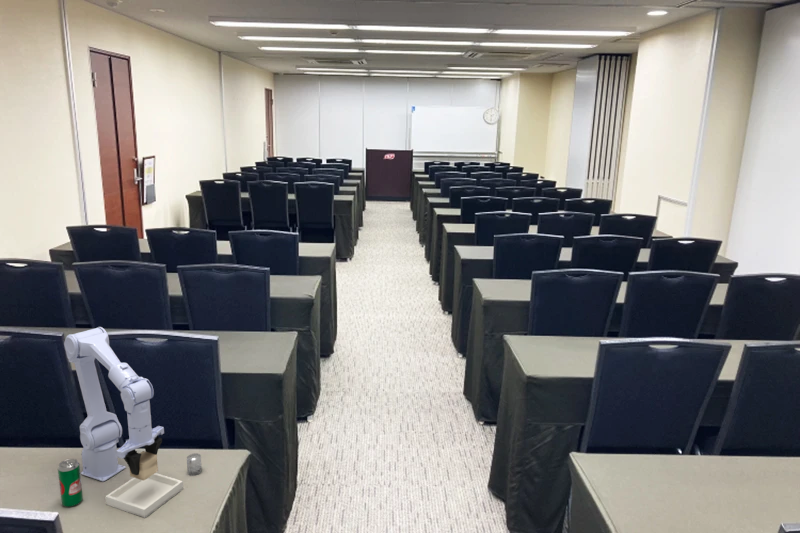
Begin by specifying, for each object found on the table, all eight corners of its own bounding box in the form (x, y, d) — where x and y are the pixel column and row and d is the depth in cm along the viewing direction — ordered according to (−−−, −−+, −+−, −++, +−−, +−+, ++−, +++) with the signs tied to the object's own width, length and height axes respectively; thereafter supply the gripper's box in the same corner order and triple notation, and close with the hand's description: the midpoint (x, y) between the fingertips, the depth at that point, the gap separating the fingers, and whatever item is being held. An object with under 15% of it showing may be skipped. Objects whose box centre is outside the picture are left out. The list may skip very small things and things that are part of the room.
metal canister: (184, 473, 168) (183, 458, 167) (194, 467, 172) (193, 452, 171) (195, 477, 167) (194, 462, 166) (204, 470, 170) (203, 455, 169)
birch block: (130, 476, 154) (128, 459, 153) (144, 466, 158) (143, 450, 157) (143, 480, 152) (142, 464, 151) (158, 471, 157) (156, 454, 156)
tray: (106, 504, 153) (105, 496, 153) (146, 477, 166) (145, 469, 165) (145, 518, 148) (144, 509, 148) (183, 488, 161) (182, 481, 160)
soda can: (73, 509, 151) (69, 469, 148) (57, 506, 152) (52, 467, 149) (87, 498, 156) (83, 459, 153) (71, 495, 156) (67, 456, 154)
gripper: (129, 439, 144) (133, 486, 147) (171, 415, 157) (174, 458, 160) (108, 433, 147) (113, 479, 150) (151, 410, 160) (155, 453, 163)
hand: (143, 468), depth 155 cm, fingers closed on birch block, 5 cm apart
